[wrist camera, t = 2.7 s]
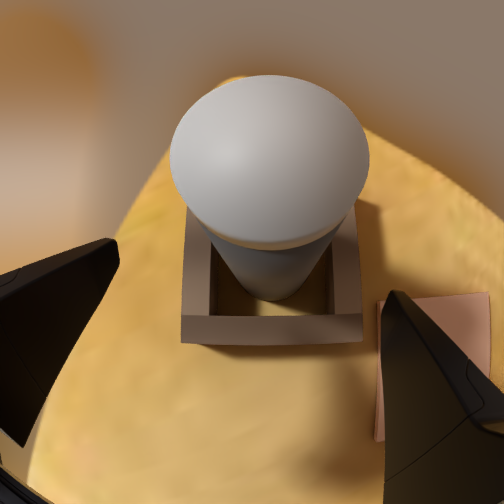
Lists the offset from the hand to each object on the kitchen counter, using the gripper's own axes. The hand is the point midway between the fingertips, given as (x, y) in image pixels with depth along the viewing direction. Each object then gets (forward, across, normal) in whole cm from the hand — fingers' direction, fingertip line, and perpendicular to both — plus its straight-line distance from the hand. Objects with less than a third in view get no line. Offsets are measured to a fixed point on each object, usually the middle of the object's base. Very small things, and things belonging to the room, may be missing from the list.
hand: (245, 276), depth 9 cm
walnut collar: (+8, 0, +5) cm, 9 cm away
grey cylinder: (+8, 0, +5) cm, 9 cm away
